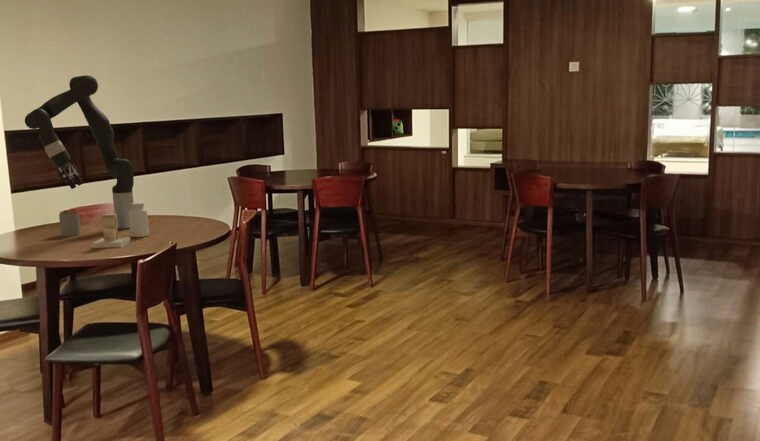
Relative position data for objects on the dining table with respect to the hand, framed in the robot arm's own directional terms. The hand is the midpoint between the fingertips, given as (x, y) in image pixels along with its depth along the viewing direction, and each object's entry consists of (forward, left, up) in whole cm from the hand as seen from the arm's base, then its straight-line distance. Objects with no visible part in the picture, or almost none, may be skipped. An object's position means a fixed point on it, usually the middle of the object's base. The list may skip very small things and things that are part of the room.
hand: (77, 186), depth 328 cm
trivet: (-7, +17, -24) cm, 30 cm away
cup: (-3, -23, -25) cm, 34 cm away
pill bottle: (-24, +6, -25) cm, 35 cm away
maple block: (-7, +16, -22) cm, 29 cm away
